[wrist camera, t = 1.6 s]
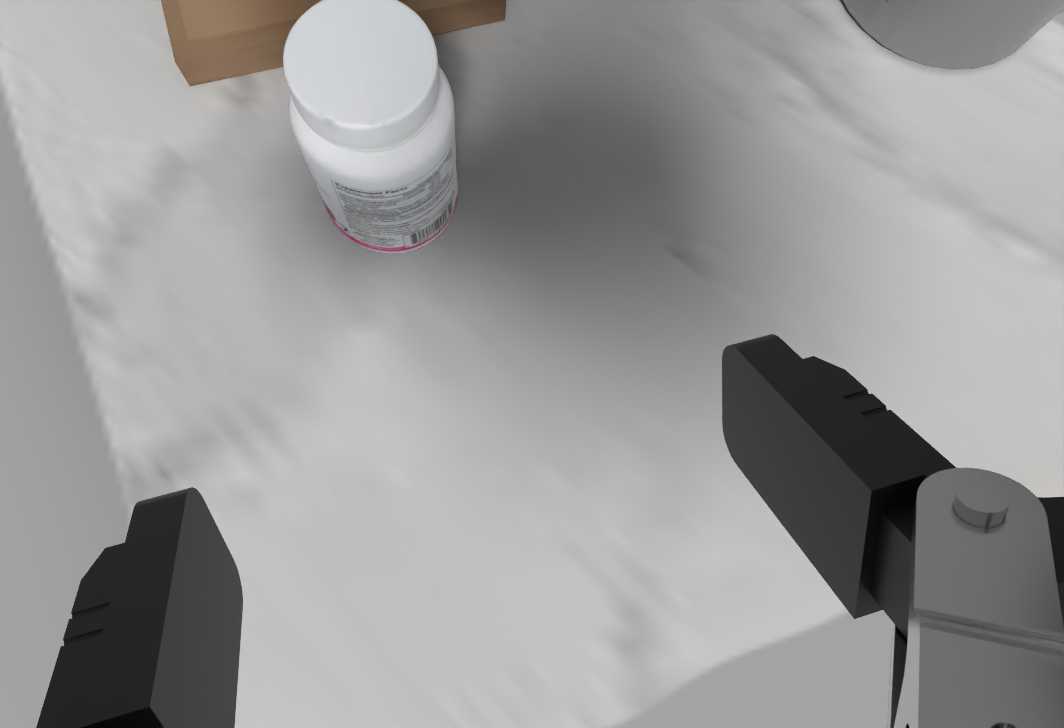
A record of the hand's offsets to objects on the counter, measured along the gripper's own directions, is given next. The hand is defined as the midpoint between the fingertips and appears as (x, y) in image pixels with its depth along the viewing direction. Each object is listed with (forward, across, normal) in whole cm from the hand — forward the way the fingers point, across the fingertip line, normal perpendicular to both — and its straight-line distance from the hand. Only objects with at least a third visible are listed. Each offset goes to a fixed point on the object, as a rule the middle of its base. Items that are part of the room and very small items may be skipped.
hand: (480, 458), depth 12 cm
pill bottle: (+19, 0, +2) cm, 19 cm away
